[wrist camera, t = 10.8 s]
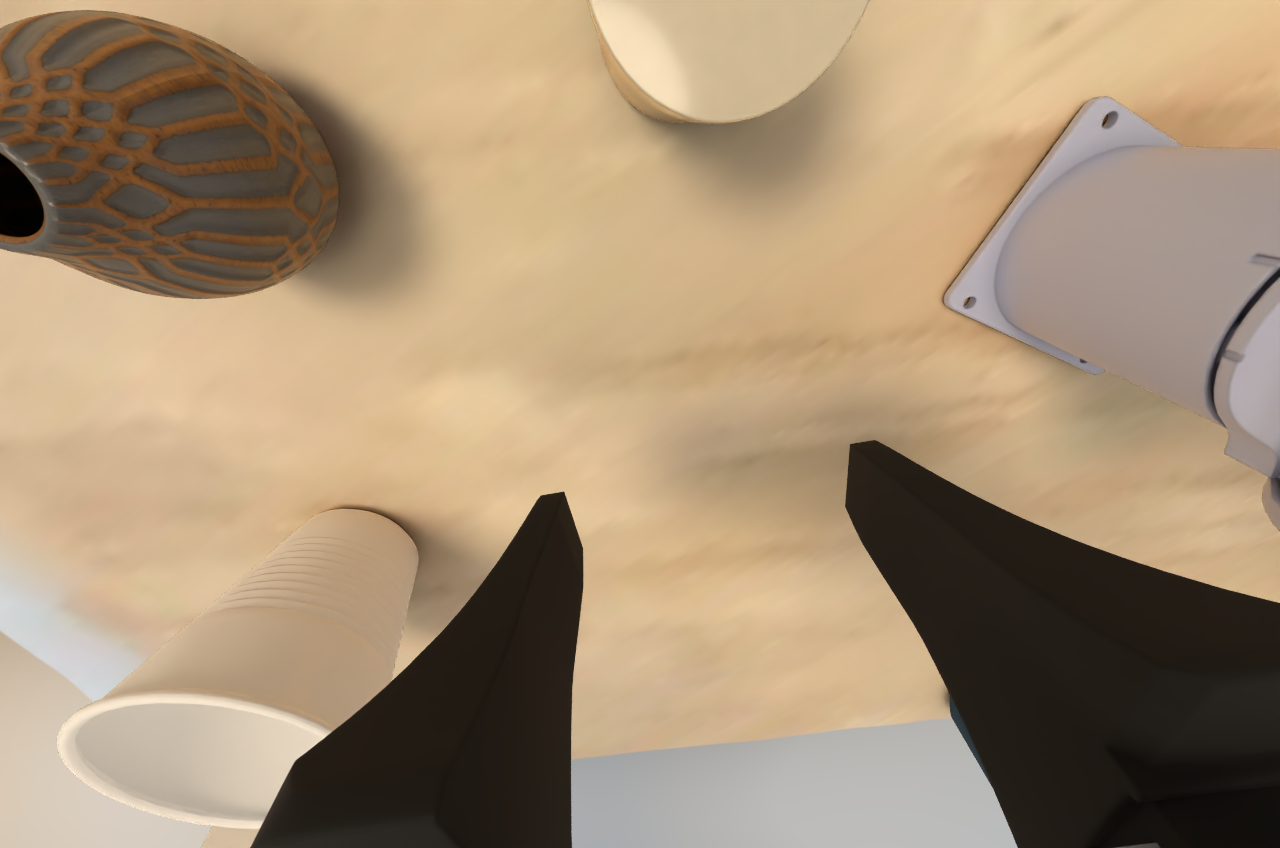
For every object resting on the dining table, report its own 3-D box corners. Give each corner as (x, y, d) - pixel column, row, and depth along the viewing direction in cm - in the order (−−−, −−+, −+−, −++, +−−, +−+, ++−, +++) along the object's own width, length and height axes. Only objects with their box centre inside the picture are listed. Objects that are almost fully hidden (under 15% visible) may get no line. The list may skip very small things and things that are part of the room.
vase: (118, 161, 16) (-298, 184, 9) (201, -23, 14) (-267, -200, 7) (312, 301, 19) (120, 409, 12) (407, 168, 17) (244, 194, 9)
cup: (437, 618, 30) (356, 840, 20) (262, 582, 27) (78, 815, 18) (473, 506, 25) (390, 727, 16) (266, 450, 23) (23, 672, 13)
